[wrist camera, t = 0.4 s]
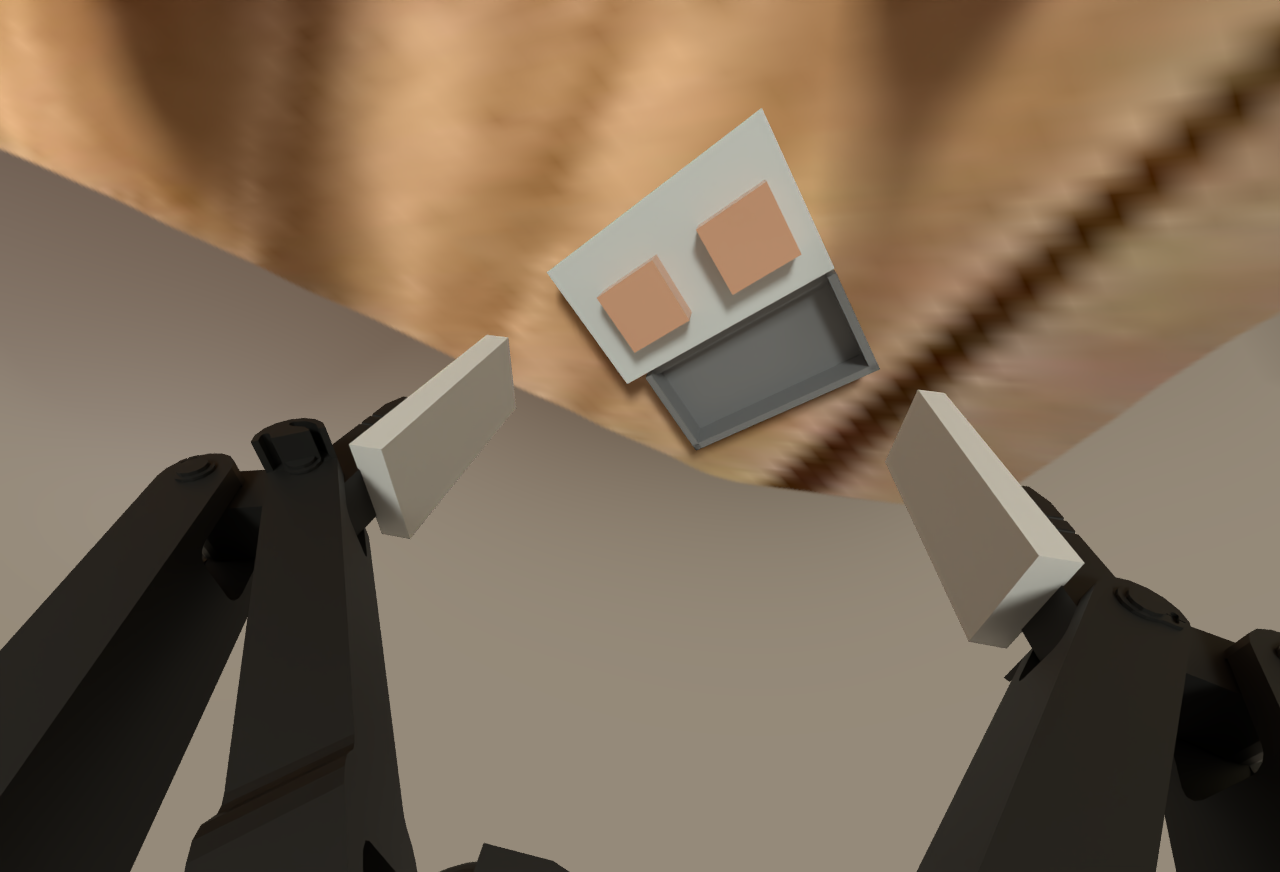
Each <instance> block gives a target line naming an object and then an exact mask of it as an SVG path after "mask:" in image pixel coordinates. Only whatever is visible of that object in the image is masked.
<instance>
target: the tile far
mask: <svg viewBox="0 0 1280 872" xmlns="http://www.w3.org/2000/svg"><path fill="white" fill-rule="evenodd" d="M597 299H598V301H599V302H600V304H601V305H602V307H603V308H604V309H605V311H606V312H607V314H608V315H609V317H610V318H611V320H612V321H613V322H614V324H615V325H616V327H617V328H618V330H619V331H620V333H621V334H622V335H623V337H624V338H625V340H626V341H627V343H628V344H629V346H630V347H631V348H632V350H633V351H634V353H635V352H637V351H639V350H640V349H642V348H644V347H646V346H647V345H649V344H651V343H652V342H654V341H656V340H657V339H659V338H661V337H662V336H664V335H666V334H668V333H669V332H671V331H673V330H674V329H676V328H678V327H679V326H681V325H683V324H685V323H686V322H688V321H690V317H691V313H692V311H691V310H690V308H689V307H688V305H687V303H686V302H685V300H684V298H683V297H682V295H681V293H680V292H679V290H678V289H677V287H676V285H675V284H674V282H673V280H672V279H671V277H670V275H669V274H668V272H667V270H666V269H665V267H664V266H663V264H662V262H661V261H660V259H659V257H658V256H657V254H656V255H654V256H653V257H651V258H650V259H648V260H647V261H646V262H644V263H643V264H641V265H640V266H638V267H637V268H635V269H634V270H633V271H631V272H630V273H628V274H627V275H625V276H624V277H622V278H621V279H619V280H618V281H617V282H615V283H614V284H612V285H611V286H609V287H608V288H606V289H605V290H603V291H602V293H601V294H600V295H599V296H598V297H597Z"/></svg>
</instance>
